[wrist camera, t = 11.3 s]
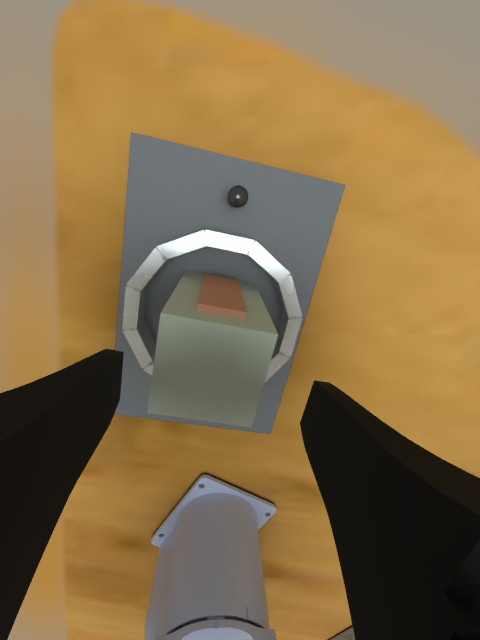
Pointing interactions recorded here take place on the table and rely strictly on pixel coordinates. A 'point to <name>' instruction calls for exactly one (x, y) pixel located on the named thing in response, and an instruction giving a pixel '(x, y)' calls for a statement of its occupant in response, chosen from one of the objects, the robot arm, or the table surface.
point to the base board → (214, 212)
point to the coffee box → (345, 635)
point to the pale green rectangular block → (212, 351)
